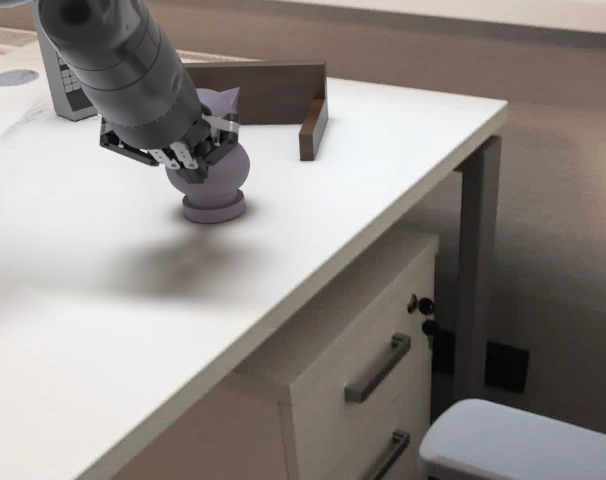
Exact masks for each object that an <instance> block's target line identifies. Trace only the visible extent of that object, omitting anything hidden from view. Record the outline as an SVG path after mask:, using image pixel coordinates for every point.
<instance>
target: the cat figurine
mask: <svg viewBox="0 0 606 480" xmlns="http://www.w3.org/2000/svg"><path fill="white" fill-rule="evenodd" d="M239 89H240V87H238V88H234V89H230V90H226V91H223V92H216V91H214V90H210V89H202V88H201V89H196V91H197V94H198V97H199V100H200V101H201V102H202V103H203V104H205V105H207V106H208V107H209V108H210V110H211V112H212V116H215V117H221V118H223V117H224V116H225V115H226V114H228V113H236V114H237V111H236V104H237V99H238V94H239ZM203 140H204V138H203V139H202V140H201V141H203ZM164 169H165V173H166V176H167V179H168V181H169V183H170V184H171V185H172V187H173V188H174V189H176V190H177V191H179V192H180V193H181V194H183V197H182V199H181V202H182V203H181V204H182V209H183V214H184V217H185V218H187V219H188V221H192V222H193V223H201V224H216V223H222V222H227V221H231V220H233V219H236V218H237V217H239V216H241V215H242V214H243V213H244V212H245V210H246V201H245V200H246V199H245V193H244V192H243V190H241V189H240V188H241V187H242V186H243V185H244V184H245V183H246V181H247V179H248V177H249V174H250V170H251V160H250V156H249V154H248V152H247V151H246V149H245V148H244V146H243V145H242V144H241V143H240V142H239V141H238V145H237V146H236V147H235V148H234V149H233V150H231V151H230V152H229V153H228V154H227V155H226V156H225V157H223V158H222V159H221V160H220V161H219V162H218V163H217V164H215V165H214V166H209V168H208V178H207V179H204V182H203V184H188V183H187V182H186V180H185V179H182V178H180V177H179V176H178V175H177V173H176V172H175V170H174V169H170V168H168V167H167V166H166V165H165V164H164Z"/></svg>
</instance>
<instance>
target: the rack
mask: <svg viewBox="0 0 606 480" xmlns="http://www.w3.org/2000/svg"><path fill="white" fill-rule="evenodd" d="M182 63H183V65H184V67H185V68H186V70H187V72H188V74H189V76H190V78H191V80H192V82H193V84H194V86H195V88H196V89H201V88H202V89H210V90H214V91H216V92H223V91H226V90H230V89H234V88H238V87H240V89H239V94H238V99H237V104H236V111H237V114H238V115H239V116H240V123H239V126H249V125H250V124H260V125H301V127H300V129H299V132H298V146H299V147H298V148H299V161H314V160H315V159H316V156H317V152H318V150H319V146H320V144H321V141H322V137H323V135H324V132H325V129H326V126H327V124H328V120H329V101H328V78H327V59H326V58H325V59H324V58H322V59H293V60H292V59H283V60H280V59H279V60H246V61H243V60H242V61H211V62H210V61H208V62H207V61H206V62H182ZM247 124H249V125H247ZM250 126H251V125H250Z"/></svg>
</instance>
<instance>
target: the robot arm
mask: <svg viewBox="0 0 606 480" xmlns="http://www.w3.org/2000/svg"><path fill="white" fill-rule="evenodd" d="M32 1H36V0H0V9H1V8H2V9H3V8H14V7H15V8H16V7H18V6H21V5H25V4H28V3H29V2H32ZM29 4H30V3H29ZM37 8H38V16H39V21H40V24H41V27H42V29H43V31H44V33H45V35H46V37H47V38H48V40H49V41H50V43H51V44H52V46H53V47H54V48H55V50H56V51H57V52H58V54H59V55H60V56H61V58H62V59H63V60H64V62H65V63H66V64H67V65H68V67H69V68H70V69H71V71H72V72H73V73H74V75H75V76H76V78H77V81H78V83H79V85H80V86H81V88H82V90H83V91H84V93H85V94H86V96H87V97H88V98H89V100H90V101H91V102H92V104H93V105H94V106H95V108H96V109H97V110H98V113H99V114H100V116H101V120H100V128H99V146H100V147H101V148H103V149H106V150H108V151H111V152H114V153H116V154H118V155H121V156H123V157H125V158H128V159H131V160H133V161H136V162H139V163H141V164H144V165H146V166H149V167H151V168H152V167H153V168H155V167H159V166H160V163H163V164H164V166H165V165H166V166H167V167H168V168H170V169H174V170H175V172H176V173H177V175H178V176H179V177H180V178H182V179H185V180H186V182H187V183H188V184H203V182H204V179H207V178H208V168H209V166H214V165H215V164H217V163H218V162H219V161H220V160H221V159H222V158H223V157H225V156H226V155H227V154H228V153H229V152H230V151H231V150H233V149H234V148H235V147H236V146H237V145H238V142H239V138H240V137H239V135H240V125H239V123H240V116H239V115H238V114H236V113H228V114H226V115H225V116H224V117H223V118H221V117H215V116H212V112H211V110H210V108H209V107H208V106H207V105H205V104H203V103H202V102H201V101H200V100H199V97H198V94H197V91H196V88H195V86H194V84H193V82H192V80H191V78H190V76H189V74H188V72H187V70H186V68H185V67H184V65H183V63H184V62H183V61H182V59H181V57H180V55H179V53H178V51H177V50H176V49H177V48H176V47H175V45H174V44H173V42H172V40H171V38H170V36H169V35H168V33H167V32H166V30H165V29H164V27H163V26H162V25H161V23H159V21H158V20H157V19H156V17H155V15H154V13H153V11H152V10H151V7H150V6H149V4H148V3H147V0H38V7H37ZM203 138H204V140H203V141H201V140H202V139H203Z"/></svg>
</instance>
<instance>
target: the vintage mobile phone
mask: <svg viewBox="0 0 606 480" xmlns="http://www.w3.org/2000/svg"><path fill="white" fill-rule="evenodd" d="M29 6H30V11H31V16H32V19H33V24H34V27H35V32H36V36H37V41H38V45H39V49H40V54H41V58H42V63H43V66H44V70H45V71H44V72H45V75H46V80H47V83H48V87H49V93H50V97H51V101H52V104H53V109H54V112H55V113H56V115H59V116H61V117H64V118H66V119H69V120H71V121H73V122H76V121H80V120H83V119H86V118H90V117H92V116H97V114H98V113H99V111H98V110H97V109H96V108H95V106H94V105H93V104H92V102H91V101H90V100H89V98H88V97H87V96H86V94H85V93H84V91H83V90H82V88H81V86H80V85H79V83H78V81H77V78H76V76H75V75H74V73H73V72H72V71H71V69H70V68H69V67H68V65H67V64H66V63H65V62H64V60H63V59H62V58H61V56H60V55H59V54H58V52H57V51H56V50H55V48H54V47H53V46H52V44H51V43H50V41H49V40H48V38H47V37H46V35H45V33H44V31H43V29H42V27H41V24H40V21H39V16H38V8H37V7H38V0H36V1H32V2H29Z"/></svg>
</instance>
